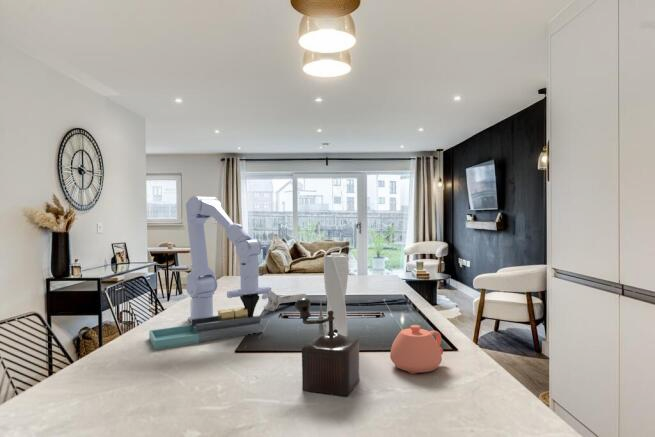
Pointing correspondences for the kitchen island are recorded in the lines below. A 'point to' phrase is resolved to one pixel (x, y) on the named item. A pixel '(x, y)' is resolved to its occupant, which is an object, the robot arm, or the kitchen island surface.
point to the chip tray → (172, 337)
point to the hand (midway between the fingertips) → (249, 317)
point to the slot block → (224, 327)
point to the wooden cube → (240, 312)
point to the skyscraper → (335, 291)
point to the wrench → (280, 299)
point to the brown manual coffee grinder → (328, 358)
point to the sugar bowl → (416, 350)
